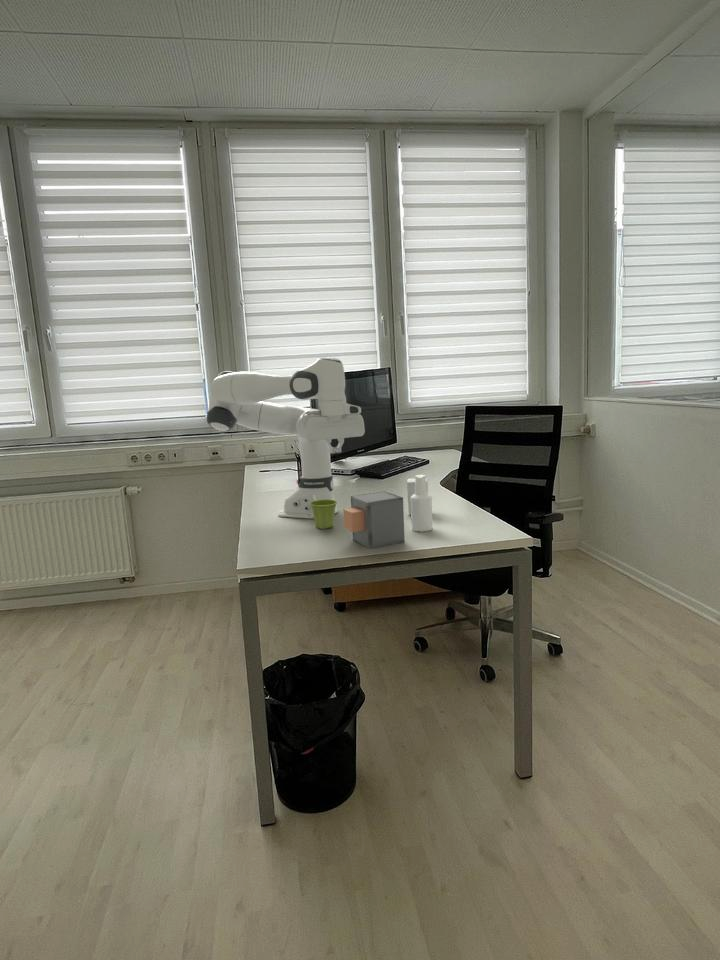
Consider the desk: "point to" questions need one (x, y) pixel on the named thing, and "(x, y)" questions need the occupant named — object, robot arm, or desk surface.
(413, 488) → the supplement box
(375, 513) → the button box
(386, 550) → the desk surface
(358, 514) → the button
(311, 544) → the desk surface
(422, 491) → the spray bottle
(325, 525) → the plant pot
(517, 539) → the desk surface
